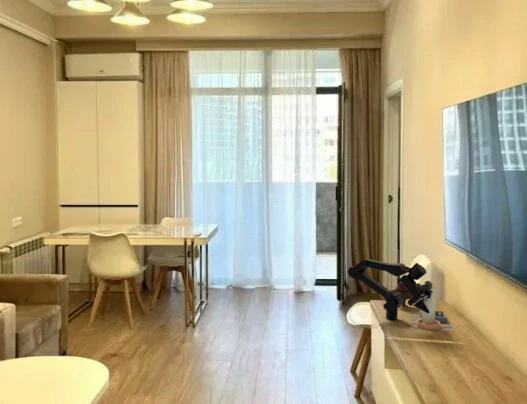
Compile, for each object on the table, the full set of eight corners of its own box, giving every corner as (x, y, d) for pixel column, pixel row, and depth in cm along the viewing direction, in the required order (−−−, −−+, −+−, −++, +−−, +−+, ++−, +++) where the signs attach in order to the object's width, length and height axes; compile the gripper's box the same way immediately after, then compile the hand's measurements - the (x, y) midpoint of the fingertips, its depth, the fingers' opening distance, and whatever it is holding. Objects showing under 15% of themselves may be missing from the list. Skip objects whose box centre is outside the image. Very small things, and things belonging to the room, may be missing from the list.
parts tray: (419, 314, 311) (419, 309, 311) (443, 316, 309) (443, 311, 309) (422, 321, 299) (422, 316, 299) (446, 322, 297) (447, 317, 297)
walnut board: (408, 314, 314) (408, 312, 314) (445, 316, 311) (445, 314, 311) (413, 331, 286) (413, 329, 286) (454, 333, 283) (454, 331, 283)
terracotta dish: (415, 321, 298) (415, 318, 297) (438, 323, 296) (438, 319, 296) (417, 328, 287) (418, 324, 287) (441, 330, 285) (441, 326, 285)
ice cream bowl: (393, 309, 324) (395, 282, 322) (393, 304, 335) (394, 277, 333) (413, 310, 322) (415, 283, 320) (413, 305, 333) (414, 279, 331)
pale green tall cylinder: (426, 319, 295) (427, 296, 294) (436, 322, 291) (438, 299, 290) (419, 321, 292) (420, 298, 290) (430, 324, 287) (431, 301, 286)
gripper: (415, 279, 284) (436, 306, 278) (430, 273, 299) (450, 298, 293) (398, 292, 290) (419, 319, 284) (414, 285, 304) (434, 311, 299)
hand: (431, 311), depth 290 cm, fingers closed on pale green tall cylinder, 6 cm apart
